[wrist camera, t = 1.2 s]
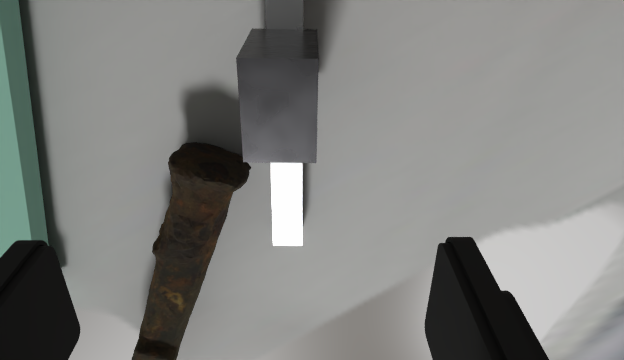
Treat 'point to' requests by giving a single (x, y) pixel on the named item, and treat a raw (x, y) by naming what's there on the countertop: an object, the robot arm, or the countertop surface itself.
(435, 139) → the countertop surface
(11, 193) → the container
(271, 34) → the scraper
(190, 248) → the hand tool
